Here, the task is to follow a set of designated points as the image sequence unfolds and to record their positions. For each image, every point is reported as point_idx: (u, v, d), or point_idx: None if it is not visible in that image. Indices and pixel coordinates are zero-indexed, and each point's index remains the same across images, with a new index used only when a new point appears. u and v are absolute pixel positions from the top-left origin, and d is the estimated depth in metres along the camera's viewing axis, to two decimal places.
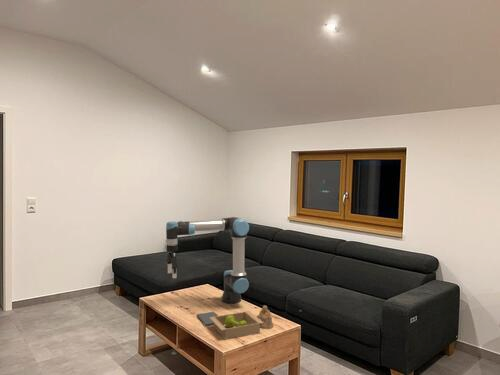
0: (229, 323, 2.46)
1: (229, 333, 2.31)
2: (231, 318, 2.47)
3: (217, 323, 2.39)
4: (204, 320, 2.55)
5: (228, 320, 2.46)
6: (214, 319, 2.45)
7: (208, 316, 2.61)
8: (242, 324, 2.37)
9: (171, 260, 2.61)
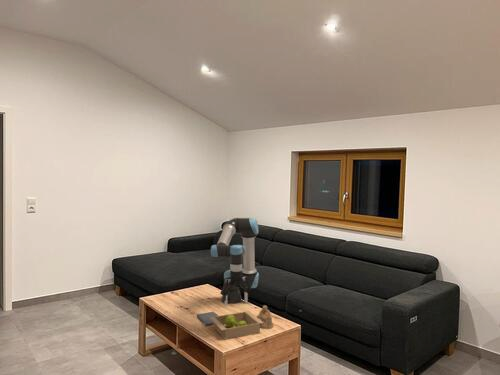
0: (229, 323, 2.46)
1: (229, 333, 2.31)
2: (231, 318, 2.47)
3: (217, 323, 2.39)
4: (204, 320, 2.55)
5: (228, 320, 2.46)
6: (214, 319, 2.45)
7: (208, 316, 2.61)
8: (241, 324, 2.37)
9: None
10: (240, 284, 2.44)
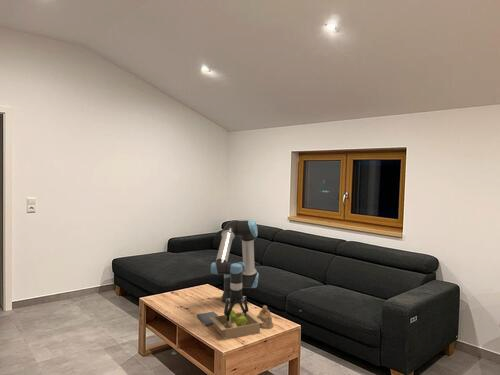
0: None
1: (229, 333, 2.31)
2: (231, 313, 2.48)
3: (217, 323, 2.39)
4: (204, 320, 2.55)
5: None
6: (214, 319, 2.45)
7: (208, 316, 2.61)
8: (241, 319, 2.37)
9: None
10: (239, 303, 2.44)
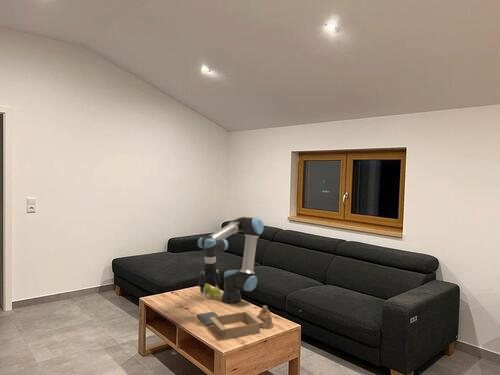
0: None
1: (229, 333, 2.31)
2: (206, 286, 2.62)
3: (217, 323, 2.39)
4: (204, 320, 2.55)
5: None
6: (214, 319, 2.45)
7: (208, 316, 2.61)
8: (214, 290, 2.52)
9: None
10: (213, 276, 2.59)
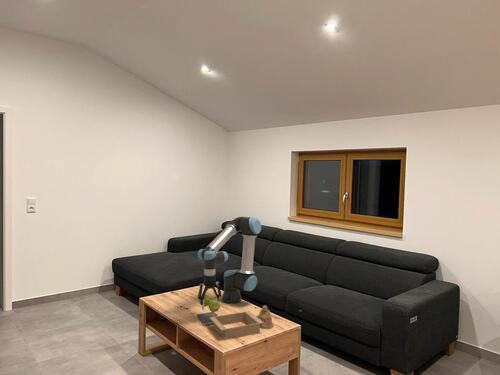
0: None
1: (229, 333, 2.31)
2: (206, 298, 2.63)
3: (217, 323, 2.39)
4: (204, 320, 2.55)
5: None
6: (214, 319, 2.45)
7: (208, 316, 2.61)
8: (213, 303, 2.52)
9: None
10: (212, 288, 2.59)
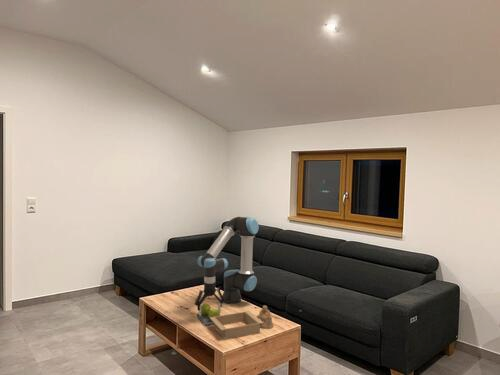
0: (204, 311, 2.62)
1: (229, 333, 2.31)
2: (206, 307, 2.63)
3: (217, 323, 2.39)
4: (204, 320, 2.55)
5: (203, 308, 2.62)
6: (214, 319, 2.45)
7: (208, 316, 2.61)
8: (213, 312, 2.52)
9: None
10: None
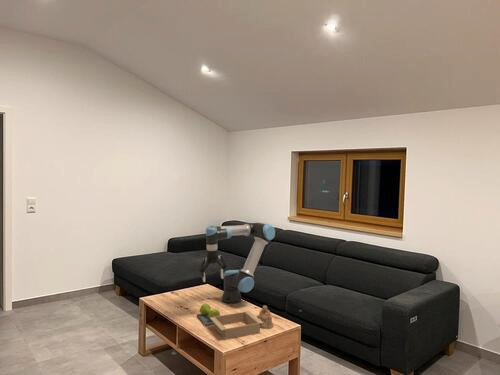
0: (204, 311, 2.62)
1: (229, 333, 2.31)
2: (206, 307, 2.63)
3: (217, 323, 2.39)
4: (204, 320, 2.55)
5: (203, 308, 2.62)
6: (214, 319, 2.45)
7: (208, 316, 2.61)
8: (213, 312, 2.52)
9: None
10: (216, 262, 2.71)
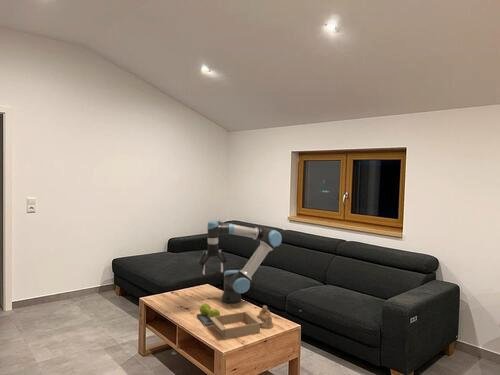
0: (204, 311, 2.62)
1: (229, 333, 2.31)
2: (206, 307, 2.63)
3: (217, 323, 2.39)
4: (204, 320, 2.55)
5: (203, 308, 2.62)
6: (214, 319, 2.45)
7: (208, 316, 2.61)
8: (213, 312, 2.52)
9: None
10: (216, 255, 2.77)
